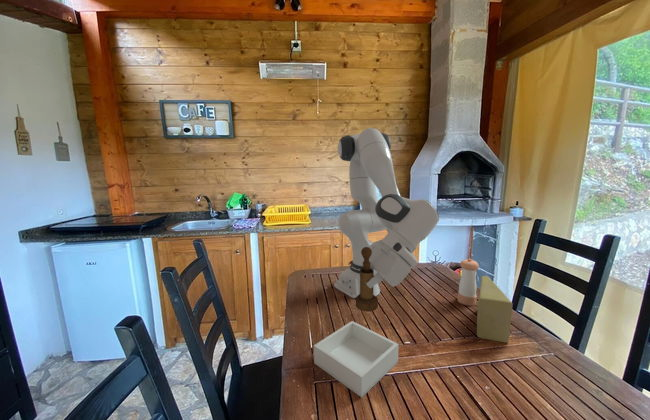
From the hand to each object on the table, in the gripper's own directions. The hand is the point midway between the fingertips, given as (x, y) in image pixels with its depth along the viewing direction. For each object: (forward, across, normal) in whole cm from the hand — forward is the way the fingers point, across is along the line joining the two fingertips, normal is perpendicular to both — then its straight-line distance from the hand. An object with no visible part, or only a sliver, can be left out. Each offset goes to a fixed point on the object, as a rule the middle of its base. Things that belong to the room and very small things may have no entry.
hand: (364, 282), depth 81 cm
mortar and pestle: (+5, 0, +6) cm, 8 cm away
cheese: (-18, -8, +54) cm, 58 cm away
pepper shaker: (-21, -24, +57) cm, 66 cm away
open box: (+20, 0, +16) cm, 26 cm away
